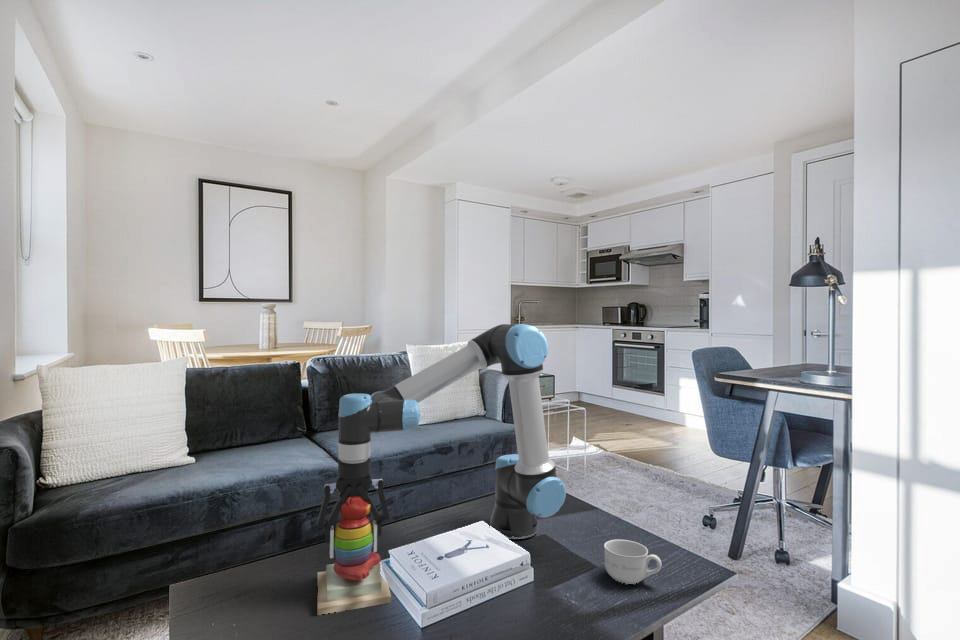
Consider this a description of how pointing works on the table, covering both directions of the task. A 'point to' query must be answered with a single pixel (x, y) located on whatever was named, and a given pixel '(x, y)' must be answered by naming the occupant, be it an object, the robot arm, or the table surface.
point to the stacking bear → (354, 540)
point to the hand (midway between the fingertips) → (353, 552)
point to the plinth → (351, 601)
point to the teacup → (628, 561)
